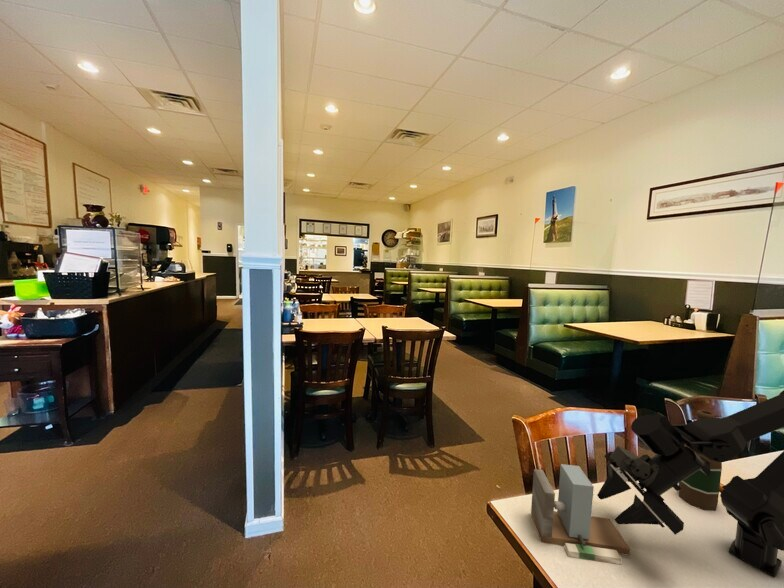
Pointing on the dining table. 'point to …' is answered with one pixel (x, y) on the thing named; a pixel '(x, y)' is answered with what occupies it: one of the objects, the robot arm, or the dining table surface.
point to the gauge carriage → (575, 502)
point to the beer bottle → (702, 480)
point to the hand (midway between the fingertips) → (606, 509)
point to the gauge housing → (551, 530)
